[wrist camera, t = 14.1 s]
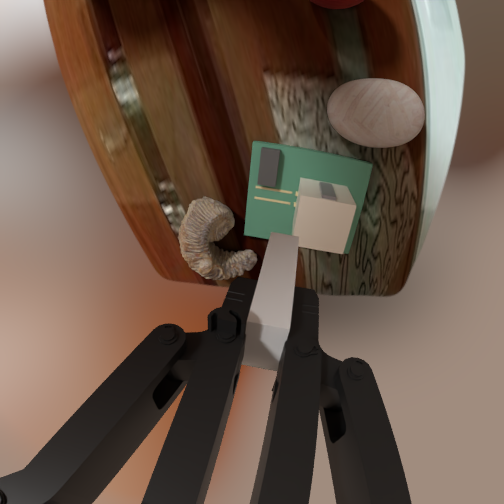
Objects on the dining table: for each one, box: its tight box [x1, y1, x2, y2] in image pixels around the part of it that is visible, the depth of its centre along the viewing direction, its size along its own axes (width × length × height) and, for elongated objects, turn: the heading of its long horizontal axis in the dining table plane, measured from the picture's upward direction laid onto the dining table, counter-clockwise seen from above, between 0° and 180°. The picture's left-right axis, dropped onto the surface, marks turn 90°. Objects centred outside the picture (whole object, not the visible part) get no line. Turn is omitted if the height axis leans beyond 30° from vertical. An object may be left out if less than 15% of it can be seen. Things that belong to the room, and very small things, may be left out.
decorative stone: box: [327, 78, 425, 148], centre depth 27 cm, size 13×9×5 cm
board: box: [244, 141, 373, 254], centre depth 36 cm, size 16×14×4 cm
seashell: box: [178, 197, 257, 280], centre depth 41 cm, size 14×10×10 cm
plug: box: [292, 177, 356, 254], centre depth 33 cm, size 6×7×7 cm
